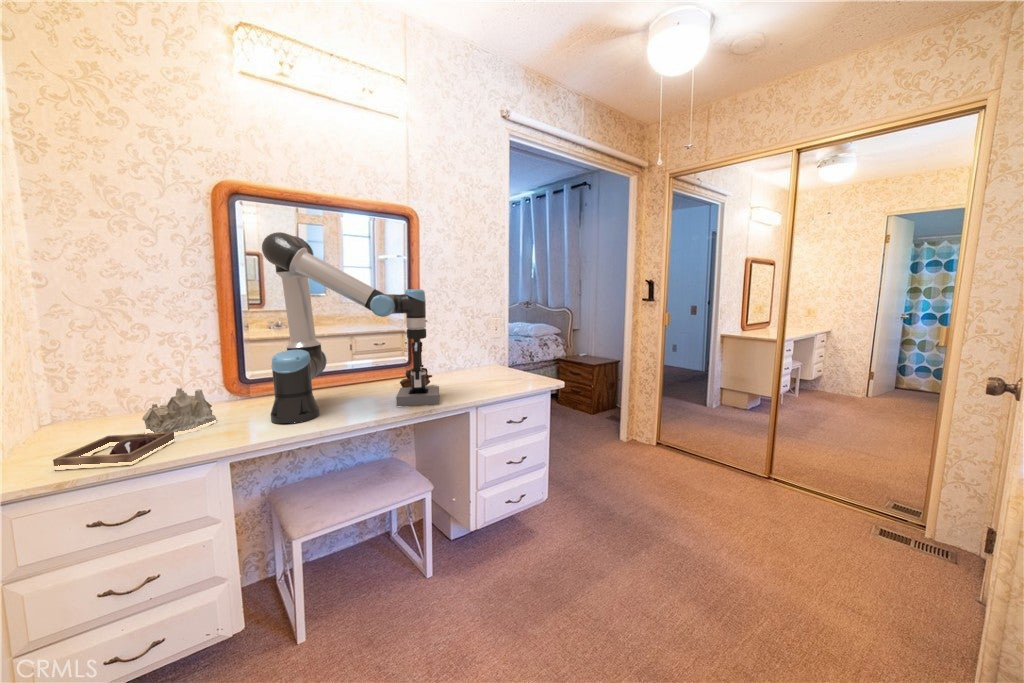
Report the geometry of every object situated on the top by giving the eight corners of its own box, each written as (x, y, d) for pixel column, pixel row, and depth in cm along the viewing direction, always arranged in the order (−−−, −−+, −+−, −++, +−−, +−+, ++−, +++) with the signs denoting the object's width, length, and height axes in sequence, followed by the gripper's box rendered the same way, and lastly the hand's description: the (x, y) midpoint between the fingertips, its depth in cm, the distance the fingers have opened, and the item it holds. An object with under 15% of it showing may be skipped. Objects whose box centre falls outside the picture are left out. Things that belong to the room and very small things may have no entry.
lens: (410, 397, 153) (410, 373, 152) (412, 393, 159) (411, 370, 157) (425, 397, 154) (425, 372, 153) (426, 393, 160) (425, 369, 158)
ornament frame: (54, 470, 97) (52, 459, 96) (109, 445, 112) (107, 435, 112) (132, 465, 100) (130, 454, 99) (174, 441, 115) (173, 432, 115)
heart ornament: (118, 475, 100) (96, 449, 103) (169, 462, 112) (148, 439, 114) (130, 456, 100) (107, 430, 102) (180, 445, 111) (158, 422, 113)
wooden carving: (405, 394, 167) (404, 371, 166) (399, 392, 170) (398, 370, 168) (434, 386, 180) (434, 365, 179) (428, 384, 183) (427, 364, 181)
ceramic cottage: (225, 420, 133) (216, 378, 130) (173, 440, 117) (162, 393, 115) (192, 419, 137) (183, 379, 135) (137, 438, 121) (126, 393, 119)
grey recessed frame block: (396, 407, 148) (396, 397, 148) (400, 397, 162) (400, 387, 162) (438, 404, 151) (438, 395, 150) (439, 395, 165) (439, 386, 164)
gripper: (424, 330, 144) (426, 390, 147) (427, 325, 162) (428, 379, 165) (404, 331, 143) (406, 391, 146) (409, 326, 161) (411, 380, 164)
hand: (418, 385), depth 156 cm, fingers closed on lens, 6 cm apart
